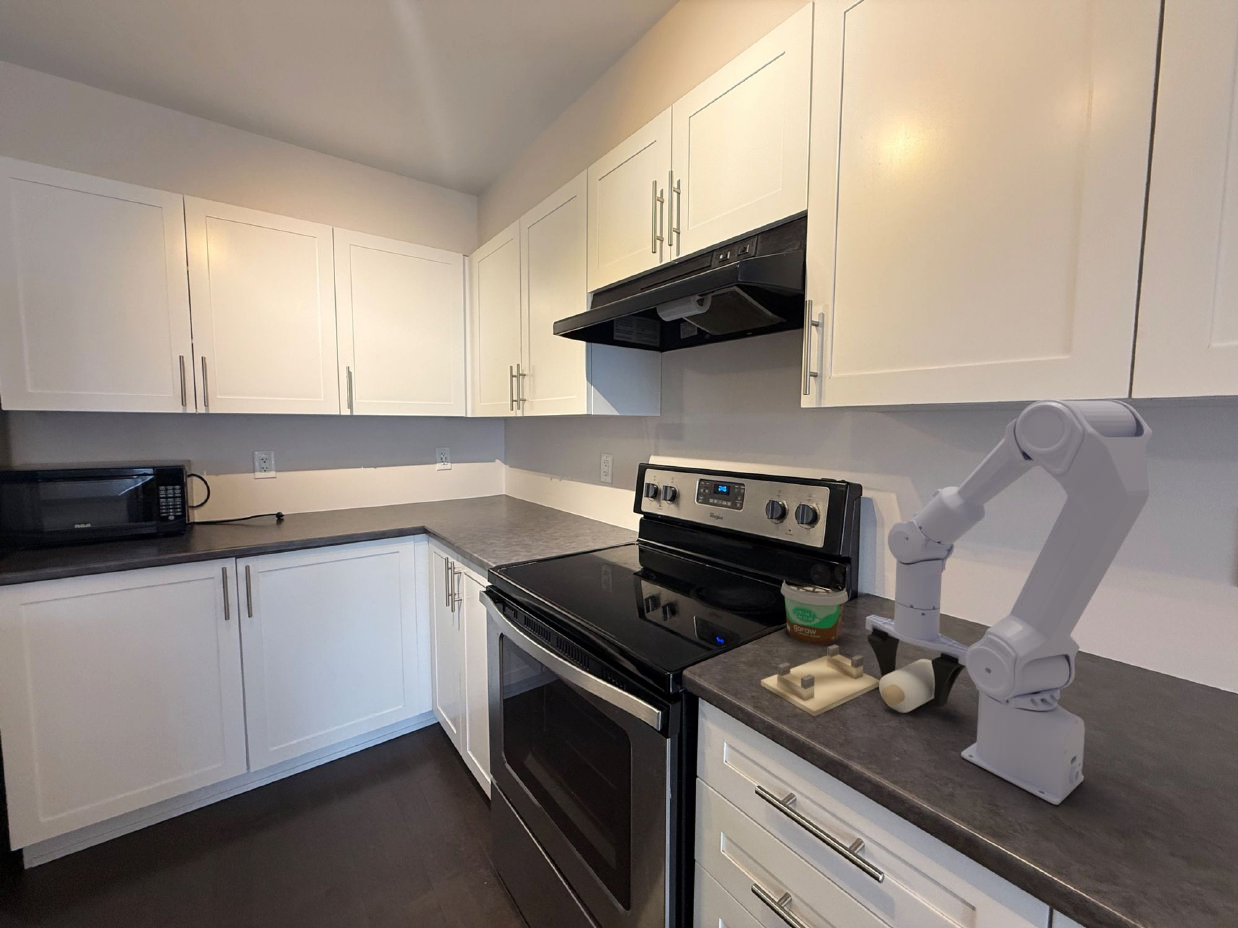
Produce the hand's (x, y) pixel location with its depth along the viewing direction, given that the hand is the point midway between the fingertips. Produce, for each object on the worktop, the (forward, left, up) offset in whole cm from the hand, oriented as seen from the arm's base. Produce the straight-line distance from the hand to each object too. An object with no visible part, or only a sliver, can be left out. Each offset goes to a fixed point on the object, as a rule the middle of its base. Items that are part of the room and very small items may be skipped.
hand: (913, 691), depth 74 cm
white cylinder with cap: (0, 0, -2) cm, 2 cm away
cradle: (+10, +8, -1) cm, 13 cm away
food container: (+22, -5, -2) cm, 23 cm away
